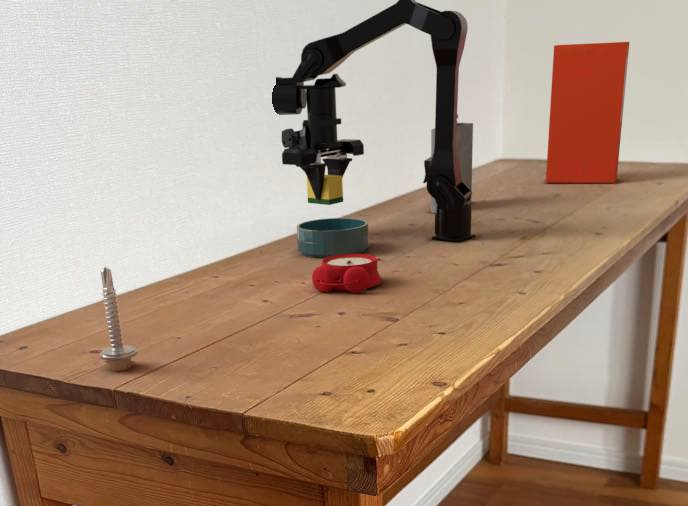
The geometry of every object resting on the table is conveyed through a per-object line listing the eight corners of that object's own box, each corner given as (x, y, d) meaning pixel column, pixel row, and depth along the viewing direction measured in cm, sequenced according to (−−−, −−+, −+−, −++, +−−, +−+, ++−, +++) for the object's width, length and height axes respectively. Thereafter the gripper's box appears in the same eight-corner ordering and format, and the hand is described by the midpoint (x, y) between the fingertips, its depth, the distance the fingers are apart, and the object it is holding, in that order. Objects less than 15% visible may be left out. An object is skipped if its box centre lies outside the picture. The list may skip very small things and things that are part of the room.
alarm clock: (389, 254, 160) (365, 252, 146) (387, 292, 161) (364, 294, 148) (330, 253, 163) (302, 251, 149) (330, 291, 164) (301, 292, 151)
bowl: (382, 248, 183) (382, 221, 181) (336, 261, 174) (335, 233, 172) (330, 241, 191) (329, 215, 189) (284, 254, 183) (282, 227, 180)
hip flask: (440, 213, 214) (441, 117, 205) (424, 212, 216) (425, 117, 207) (473, 202, 225) (475, 110, 216) (458, 201, 227) (460, 111, 218)
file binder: (549, 179, 253) (558, 44, 238) (616, 179, 247) (629, 41, 232) (545, 183, 246) (553, 45, 231) (614, 183, 241) (627, 42, 225)
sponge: (343, 201, 192) (342, 175, 189) (329, 205, 189) (328, 178, 187) (321, 199, 195) (320, 174, 193) (307, 202, 193) (306, 177, 190)
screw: (95, 372, 122) (113, 361, 126) (128, 374, 120) (145, 363, 124) (78, 270, 116) (97, 262, 120) (113, 271, 114) (131, 262, 118)
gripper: (323, 109, 195) (326, 188, 203) (259, 117, 183) (265, 201, 191) (364, 109, 189) (366, 191, 196) (300, 118, 177) (305, 205, 184)
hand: (325, 197), depth 192 cm, fingers closed on sponge, 4 cm apart
